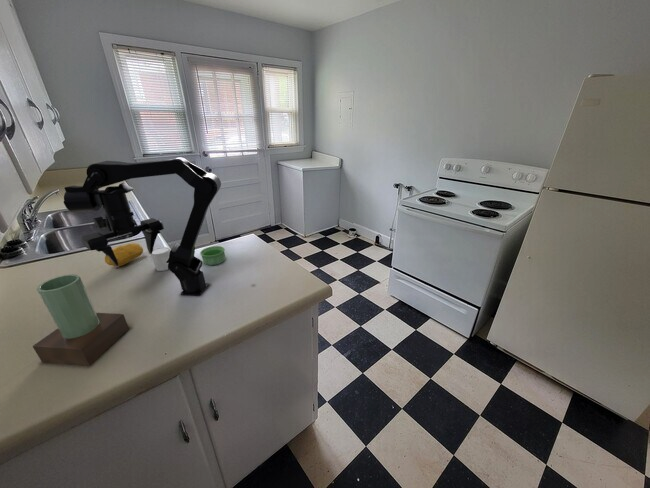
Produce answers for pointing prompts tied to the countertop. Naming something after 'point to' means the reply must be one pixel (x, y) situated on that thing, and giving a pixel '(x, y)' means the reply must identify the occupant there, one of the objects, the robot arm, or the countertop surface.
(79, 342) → the block
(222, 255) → the ramekin
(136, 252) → the potato
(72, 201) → the robot arm
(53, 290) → the tumbler
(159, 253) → the white cup
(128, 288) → the countertop surface
